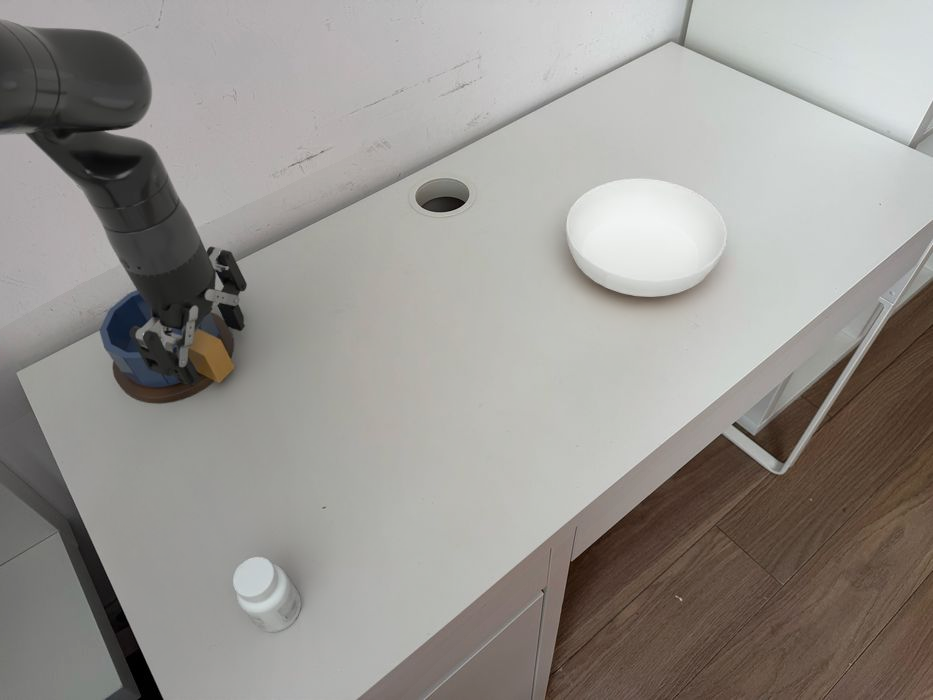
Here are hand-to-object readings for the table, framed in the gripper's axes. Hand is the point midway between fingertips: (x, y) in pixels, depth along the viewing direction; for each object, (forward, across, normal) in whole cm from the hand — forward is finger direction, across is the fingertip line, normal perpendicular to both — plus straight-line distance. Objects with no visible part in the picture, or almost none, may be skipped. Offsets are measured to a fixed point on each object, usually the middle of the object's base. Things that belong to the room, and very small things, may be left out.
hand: (215, 353), depth 78 cm
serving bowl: (+2, 0, +6) cm, 6 cm away
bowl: (+4, +35, -41) cm, 54 cm away
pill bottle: (+4, -21, -21) cm, 30 cm away
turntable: (+4, 0, +7) cm, 8 cm away
